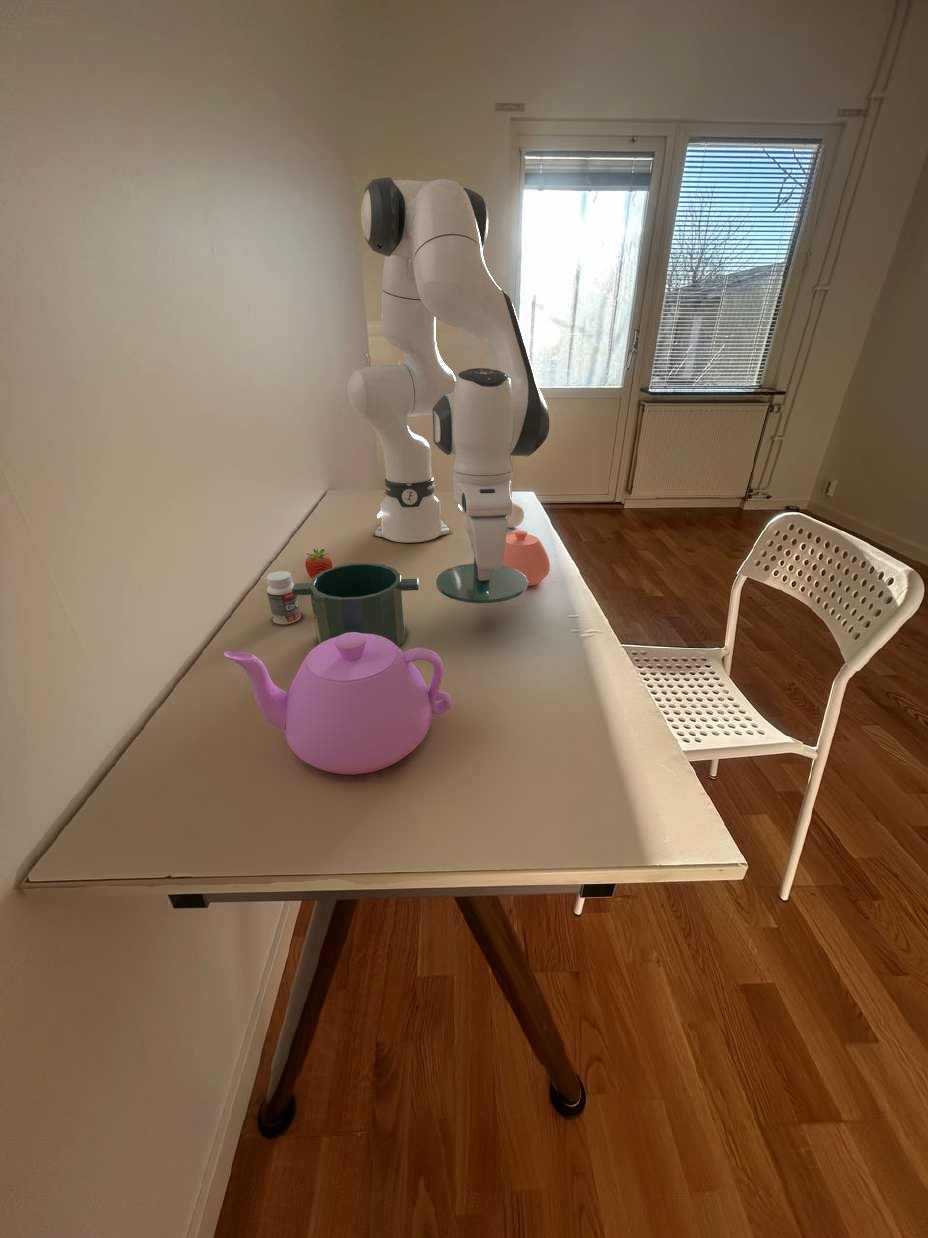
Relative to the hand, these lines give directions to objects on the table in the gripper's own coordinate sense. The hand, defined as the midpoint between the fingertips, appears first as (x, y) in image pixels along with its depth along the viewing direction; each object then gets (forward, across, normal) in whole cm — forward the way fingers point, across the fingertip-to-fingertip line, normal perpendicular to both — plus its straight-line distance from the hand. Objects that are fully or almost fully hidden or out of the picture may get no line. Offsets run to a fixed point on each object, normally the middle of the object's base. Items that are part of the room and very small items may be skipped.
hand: (481, 573), depth 84 cm
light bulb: (+10, -55, +14) cm, 58 cm away
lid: (+2, 0, 0) cm, 2 cm away
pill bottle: (+10, -6, -34) cm, 36 cm away
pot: (+10, +2, -20) cm, 22 cm away
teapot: (+10, +26, -19) cm, 34 cm away
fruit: (+10, -20, -30) cm, 38 cm away
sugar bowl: (+10, -20, +10) cm, 24 cm away
